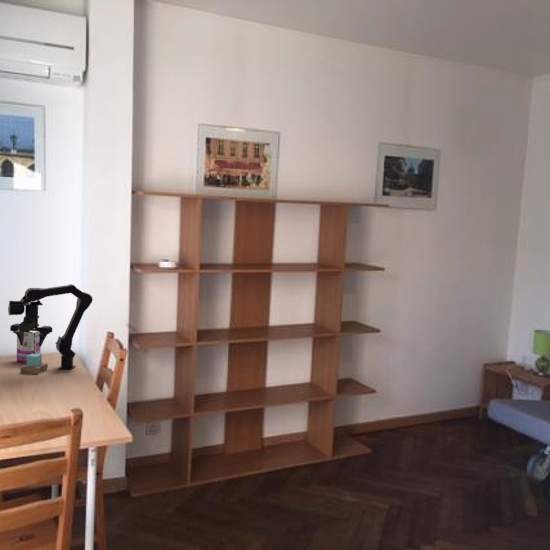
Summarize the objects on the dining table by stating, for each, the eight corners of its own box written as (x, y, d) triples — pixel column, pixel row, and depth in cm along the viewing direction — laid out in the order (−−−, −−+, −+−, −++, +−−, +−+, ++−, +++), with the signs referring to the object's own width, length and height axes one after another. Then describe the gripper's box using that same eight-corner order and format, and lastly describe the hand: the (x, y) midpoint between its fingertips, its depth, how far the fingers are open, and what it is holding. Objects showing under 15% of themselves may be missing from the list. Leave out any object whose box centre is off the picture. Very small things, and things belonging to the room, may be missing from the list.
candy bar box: (41, 362, 310) (41, 330, 308) (34, 364, 305) (34, 332, 303) (22, 359, 313) (23, 328, 311) (16, 361, 308) (16, 330, 306)
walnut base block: (30, 368, 298) (30, 362, 297) (47, 369, 297) (47, 363, 296) (20, 372, 289) (20, 366, 288) (38, 374, 288) (38, 368, 287)
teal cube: (31, 363, 295) (32, 353, 295) (41, 364, 295) (41, 354, 294) (26, 366, 290) (26, 355, 290) (36, 366, 290) (36, 356, 289)
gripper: (4, 315, 282) (3, 348, 284) (42, 318, 281) (41, 351, 282) (16, 311, 293) (16, 343, 295) (53, 314, 292) (52, 346, 293)
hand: (31, 346), depth 291 cm, fingers open, 9 cm apart
